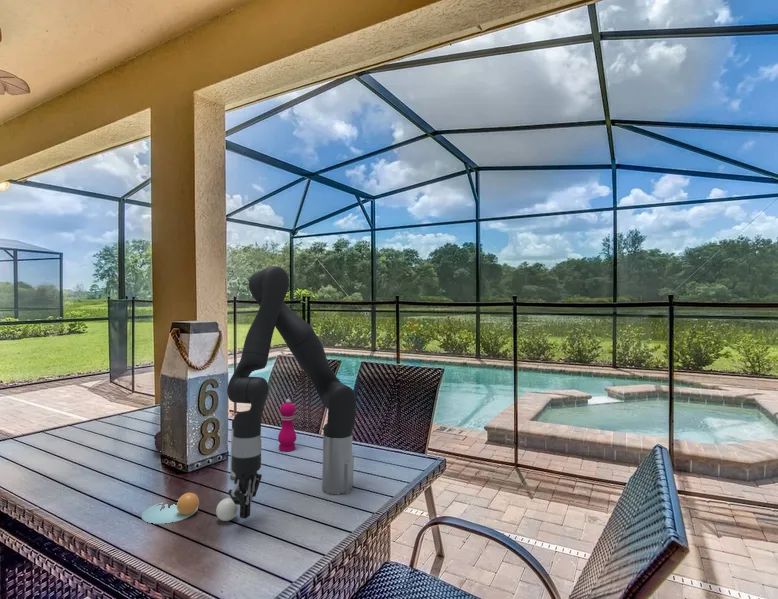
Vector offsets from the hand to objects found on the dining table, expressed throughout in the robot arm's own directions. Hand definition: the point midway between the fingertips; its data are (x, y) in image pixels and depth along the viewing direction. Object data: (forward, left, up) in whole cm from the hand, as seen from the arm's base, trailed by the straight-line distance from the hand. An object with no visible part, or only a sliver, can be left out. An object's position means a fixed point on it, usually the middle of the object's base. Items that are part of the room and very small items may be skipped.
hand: (245, 516), depth 117 cm
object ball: (+18, 0, +1) cm, 18 cm away
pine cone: (+56, -39, -2) cm, 68 cm away
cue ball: (+5, 0, +1) cm, 6 cm away
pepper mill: (+16, -57, -2) cm, 59 cm away
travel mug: (+18, -27, -2) cm, 32 cm away
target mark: (+23, 0, -2) cm, 23 cm away
